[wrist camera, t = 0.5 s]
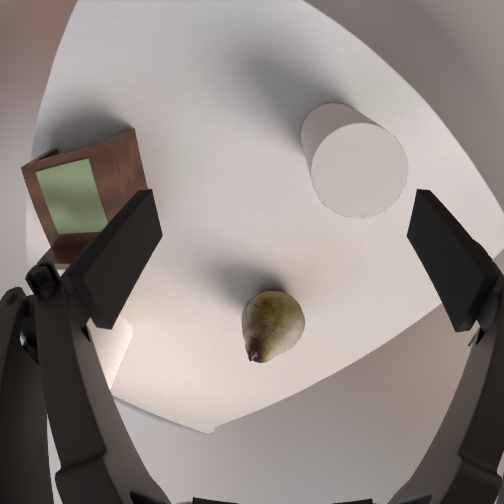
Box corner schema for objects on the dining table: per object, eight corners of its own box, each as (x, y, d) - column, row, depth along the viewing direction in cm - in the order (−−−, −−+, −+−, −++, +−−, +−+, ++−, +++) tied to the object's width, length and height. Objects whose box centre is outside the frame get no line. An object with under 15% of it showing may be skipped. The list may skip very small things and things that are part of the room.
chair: (48, 150, 34) (1, 180, 25) (134, 128, 32) (88, 155, 23) (74, 229, 42) (39, 268, 33) (157, 223, 40) (127, 271, 32)
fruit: (240, 278, 45) (230, 342, 35) (303, 276, 43) (307, 340, 34) (249, 322, 51) (242, 381, 41) (303, 320, 49) (305, 381, 40)
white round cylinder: (355, 177, 33) (384, 228, 24) (292, 158, 33) (298, 203, 23) (377, 117, 29) (422, 145, 19) (311, 94, 28) (329, 108, 19)
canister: (86, 332, 60) (53, 401, 43) (71, 292, 52) (26, 369, 35) (136, 347, 60) (108, 424, 44) (127, 308, 52) (87, 397, 36)
